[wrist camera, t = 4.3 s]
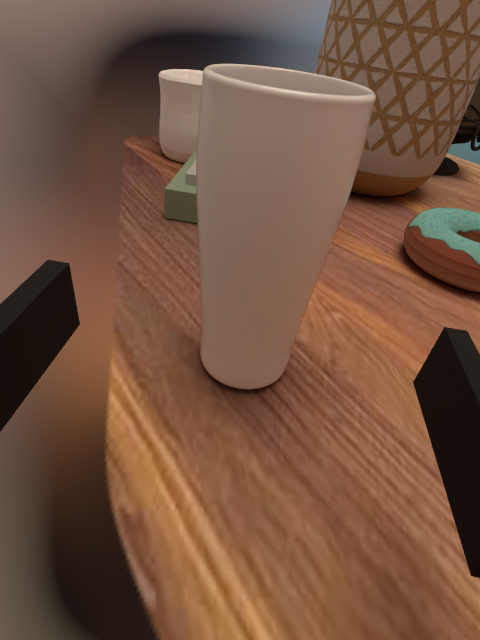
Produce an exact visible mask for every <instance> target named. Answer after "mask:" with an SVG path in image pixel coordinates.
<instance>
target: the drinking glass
mask: <svg viewBox="0 0 480 640" xmlns="http://www.w3.org/2000/svg"><path fill="white" fill-rule="evenodd" d="M375 100H376V94H375V93H374V91H372V90H371V89H369V88H367V87H365V86H362V85H359V84H356V83H353V82H349V81H345V80H341V79H337V78H333V77H328V76H323V75H318V74H313V73H307V72H302V71H295V70H288V69H281V68H274V67H266V66H256V65H243V64H215V65H209V66H207V67H206V68H205V69H204V71H203V77H202V89H201V99H200V109H199V121H198V137H197V160H196V197H197V225H198V249H199V275H200V305H201V341H200V357H201V361H202V363H203V365H204V367H205V369H206V370H207V372H208V373H209V374H210V375H211V376H212V377H213V378H215V379H216V380H217V381H219V382H221V383H223V384H225V385H227V386H230V387H233V388H238V389H258V388H262V387H265V386H268V385H270V384H272V383H274V382H275V381H276V380H278V379H279V378H280V377H281V376H282V374H283V373H284V371H285V369H286V367H287V364H288V361H289V357H290V353H291V350H292V346H293V343H294V341H295V338H296V335H297V333H298V330H299V327H300V325H301V322H302V319H303V317H304V314H305V311H306V309H307V306H308V304H309V301H310V298H311V296H312V293H313V291H314V288H315V285H316V283H317V280H318V278H319V275H320V273H321V270H322V268H323V265H324V262H325V260H326V257H327V255H328V252H329V250H330V247H331V244H332V242H333V239H334V237H335V234H336V232H337V229H338V226H339V224H340V221H341V218H342V216H343V213H344V210H345V207H346V205H347V202H348V199H349V196H350V193H351V190H352V187H353V183H354V180H355V177H356V174H357V170H358V167H359V163H360V160H361V156H362V152H363V148H364V145H365V141H366V137H367V133H368V129H369V124H370V120H371V116H372V112H373V108H374V104H375Z"/></svg>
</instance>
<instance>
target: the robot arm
mask: <svg viewBox="0 0 480 640" xmlns="http://www.w3.org/2000/svg"><path fill="white" fill-rule="evenodd" d="M79 325H80V323H79V317H78V312H77V305H76V300H75V294H74V288H73V283H72V277H71V271H70V266H69V263H64V262H58V261H52V260H47V261H46V262H45V263H44V264H43V265H42V266H41V267H40V268H39V269H37V271H35V272H34V273H33V274H32V275H31V276H30V277H29V278H28V279H27V280H26V281H25V282H24V283H22V284H21V285H20V286H19V287H18V288H17V289H16V290H15V291H14V292H13V293H12V294H11V295H10V296H9V297H8V298H7V299H5V300H4V301H3V302H2V303H1V304H0V431H1V430H2V429H3V427H4V426H5V425H6V423H7V422H8V421H9V419H10V418H11V417H12V415H13V414H14V413H15V411H16V410H17V409H18V407H19V406H20V405H21V403H22V402H23V401H24V399H25V398H26V396H27V395H28V394H29V392H30V391H31V390H32V388H33V387H34V385H35V384H36V383H37V382H38V380H39V379H40V378H41V376H42V375H43V373H44V372H45V371H46V369H47V368H48V367H49V365H50V364H51V363H52V361H53V360H54V359H55V357H56V356H57V354H58V353H59V352H60V350H61V349H62V348H63V346H64V345H65V344H66V342H67V341H68V340H69V338H70V337H71V336H72V334H73V333H74V331H75V330H76V329H77V327H78V326H79ZM413 383H414V387H415V390H416V393H417V397H418V400H419V403H420V407H421V410H422V413H423V417H424V420H425V423H426V427H427V430H428V433H429V437H430V440H431V443H432V447H433V450H434V453H435V457H436V460H437V463H438V467H439V470H440V473H441V477H442V480H443V483H444V487H445V490H446V493H447V497H448V500H449V503H450V507H451V510H452V513H453V517H454V520H455V524H456V527H457V530H458V534H459V537H460V540H461V544H462V547H463V550H464V554H465V557H466V560H467V564H468V567H469V570H470V574H471V576H474V577H479V578H480V355H479V353H478V351H477V349H476V347H475V345H474V343H473V341H472V339H471V337H470V335H469V333H468V332H467V331H465V330H459V329H453V328H447V327H444V329H443V331H442V332H441V334H440V336H439V338H438V340H437V341H436V343H435V345H434V347H433V348H432V350H431V352H430V354H429V356H428V357H427V359H426V361H425V363H424V364H423V366H422V368H421V370H420V371H419V373H418V375H417V377H416V379H415V380H414V382H413Z"/></svg>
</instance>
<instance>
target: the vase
mask: <svg viewBox="0 0 480 640" xmlns="http://www.w3.org/2000/svg"><path fill="white" fill-rule="evenodd" d="M315 74H318V75H323V76H328V77H333V78H337V79H341V80H345V81H349V82H353V83H356V84H359V85H362V86H365V87H367V88H369V89H371V90H372V91H374V93H375V94H376V100H375V104H374V108H373V112H372V116H371V120H370V124H369V129H368V133H367V137H366V141H365V145H364V148H363V152H362V156H361V160H360V163H359V167H358V170H357V174H356V177H355V180H354V183H353V187H352V190H351V192H355V193H359V194H364V195H370V196H381V197H387V196H397V195H402V194H405V193H408V192H410V191H412V190H414V189H416V188H417V187H419V186H420V185H422V184H423V183H424V182H425V181H427V180H428V179H429V178H430V177H431V176H432V175H433V174H434V172H435V171H436V170H437V169H438V167H439V166H440V164H441V163H442V161H443V159H444V157H445V156H446V154H447V152H448V150H449V148H450V146H451V144H452V141H453V139H454V137H455V135H456V133H457V130H458V128H459V126H460V123H461V121H462V119H463V116H464V114H465V112H466V109H467V107H468V105H469V102H470V100H471V97H472V95H473V93H474V90H475V88H476V85H477V83H478V80H479V78H480V0H332V1H331V6H330V10H329V14H328V18H327V23H326V26H325V31H324V35H323V39H322V44H321V48H320V53H319V58H318V62H317V67H316V72H315Z"/></svg>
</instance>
